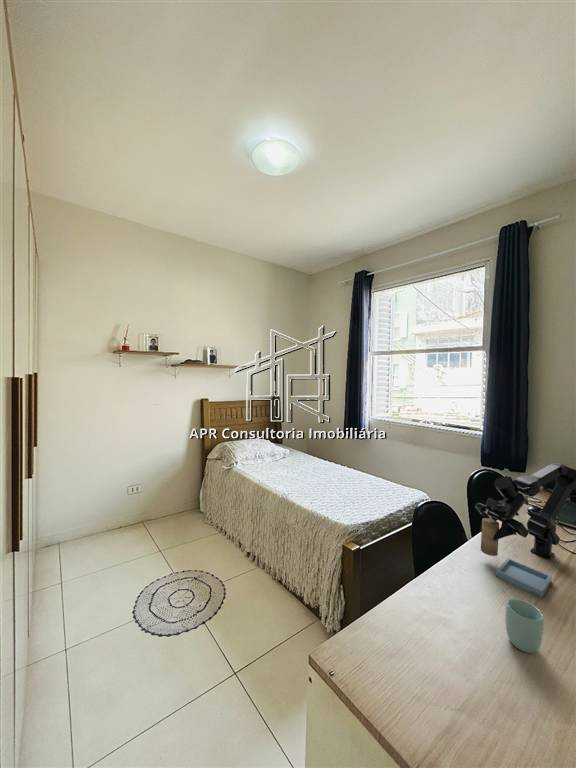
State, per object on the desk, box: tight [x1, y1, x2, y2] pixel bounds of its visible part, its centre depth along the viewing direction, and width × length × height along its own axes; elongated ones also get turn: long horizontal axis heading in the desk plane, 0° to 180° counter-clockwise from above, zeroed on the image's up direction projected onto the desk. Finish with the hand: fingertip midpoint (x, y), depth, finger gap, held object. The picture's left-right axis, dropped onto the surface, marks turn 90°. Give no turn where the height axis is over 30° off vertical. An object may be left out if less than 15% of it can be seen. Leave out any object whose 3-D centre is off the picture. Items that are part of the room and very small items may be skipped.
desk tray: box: [495, 557, 553, 599], centre depth 109 cm, size 13×13×2 cm
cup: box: [505, 598, 545, 654], centre depth 81 cm, size 8×8×10 cm
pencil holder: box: [480, 518, 500, 557], centre depth 118 cm, size 6×6×12 cm
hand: (487, 535), depth 118 cm, fingers closed on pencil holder, 5 cm apart
